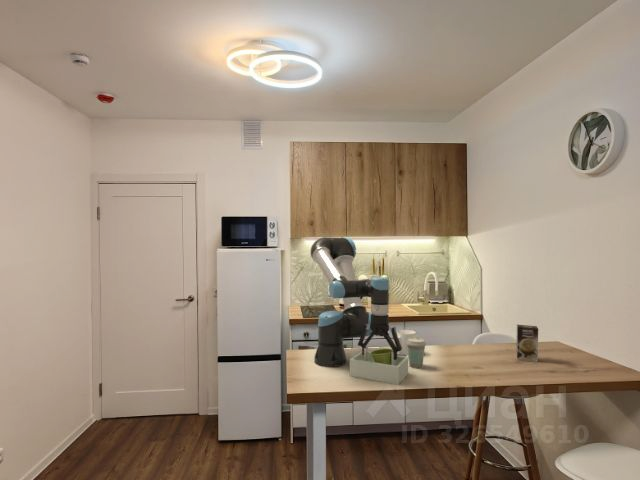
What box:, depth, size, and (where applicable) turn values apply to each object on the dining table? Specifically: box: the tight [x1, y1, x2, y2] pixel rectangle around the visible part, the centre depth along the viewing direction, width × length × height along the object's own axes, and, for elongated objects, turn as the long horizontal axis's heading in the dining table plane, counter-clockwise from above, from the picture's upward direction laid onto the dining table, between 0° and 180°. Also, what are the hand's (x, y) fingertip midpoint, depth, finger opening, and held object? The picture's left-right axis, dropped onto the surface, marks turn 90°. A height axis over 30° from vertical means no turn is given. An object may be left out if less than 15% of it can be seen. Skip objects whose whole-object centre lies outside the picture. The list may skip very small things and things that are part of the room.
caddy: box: [349, 350, 409, 385], centre depth 171 cm, size 21×15×7 cm
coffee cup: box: [407, 337, 426, 369], centre depth 183 cm, size 8×8×12 cm
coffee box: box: [515, 324, 539, 363], centre depth 195 cm, size 9×6×16 cm
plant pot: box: [370, 348, 393, 365], centre depth 171 cm, size 9×9×9 cm
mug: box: [393, 329, 418, 356], centre depth 203 cm, size 14×10×11 cm
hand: (379, 364), depth 171 cm, fingers open, 11 cm apart
